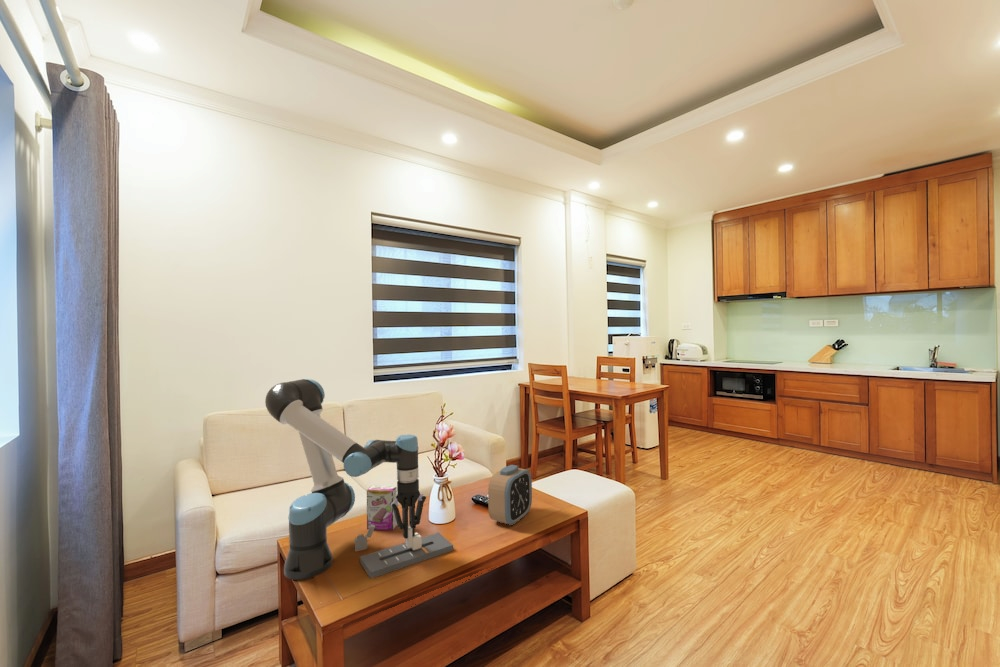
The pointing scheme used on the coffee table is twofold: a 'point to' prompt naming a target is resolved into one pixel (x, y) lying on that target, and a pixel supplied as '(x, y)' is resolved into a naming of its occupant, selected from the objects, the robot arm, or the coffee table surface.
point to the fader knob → (417, 542)
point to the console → (404, 555)
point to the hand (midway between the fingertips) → (409, 545)
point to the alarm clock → (510, 494)
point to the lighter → (363, 539)
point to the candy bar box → (381, 507)
